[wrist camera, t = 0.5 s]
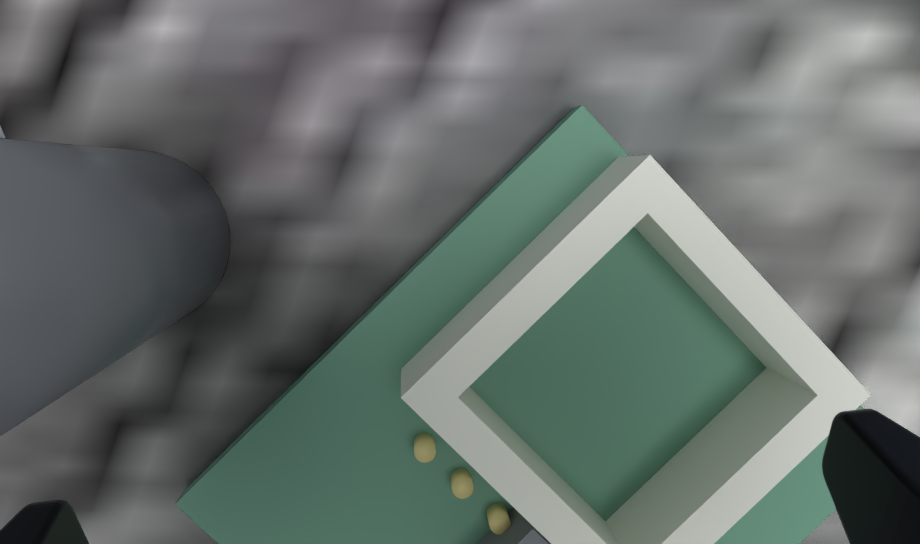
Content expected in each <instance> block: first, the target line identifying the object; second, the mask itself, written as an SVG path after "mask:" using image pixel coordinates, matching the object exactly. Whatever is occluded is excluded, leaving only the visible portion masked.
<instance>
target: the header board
mask: <svg viewBox="0 0 920 544" xmlns="http://www.w3.org/2000/svg"><path fill="white" fill-rule="evenodd" d="M869 396H871V394H870V393H869V392H868V391H867V390H866V389H865V388H864V387H863V386H862V385H861V383H860V382H859V381H858V380H857V379H856V378H855V377H854V376H853V375H852V374H851V373H850V372H849V370H848V369H847V368H846V367H845V366H844V365H843V364H842V363H841V362H840V361H839V360H838V359H837V357H836V356H835V355H834V354H833V353H832V352H831V351H830V350H829V349H828V348H827V347H826V345H825V344H824V343H823V342H822V341H821V340H820V339H819V338H818V337H817V336H816V335H815V334H814V332H813V331H812V330H811V329H810V328H809V327H808V326H807V325H806V324H805V323H804V322H803V320H802V319H801V318H800V317H799V316H798V315H797V314H796V313H795V312H794V311H793V310H792V309H791V307H790V306H789V305H788V304H787V303H786V302H785V301H784V300H783V299H782V298H781V297H780V296H779V294H778V293H777V292H776V291H775V290H774V289H773V288H772V287H771V286H770V285H769V284H768V282H767V281H766V280H765V279H764V278H763V277H762V276H761V275H760V274H759V273H758V272H757V271H756V269H755V268H754V267H753V266H752V265H751V264H750V263H749V262H748V261H747V260H746V259H745V257H744V256H743V255H742V254H741V253H740V252H739V251H738V250H737V249H736V248H735V247H734V246H733V244H732V243H731V242H730V241H729V240H728V239H727V238H726V237H725V236H724V235H723V234H722V232H721V231H720V230H719V229H718V228H717V227H716V226H715V225H714V224H713V223H712V222H711V221H710V219H709V218H708V217H707V216H706V215H705V214H704V213H703V212H702V211H701V210H700V209H699V208H698V206H697V205H696V204H695V203H694V202H693V201H692V200H691V199H690V198H689V197H688V196H687V194H686V193H685V192H684V191H683V190H682V189H681V188H680V187H679V186H678V185H677V184H676V183H675V181H674V180H673V179H672V178H671V177H670V176H669V175H668V174H667V173H666V172H665V171H664V169H663V168H662V167H661V166H660V165H659V164H658V163H657V162H656V161H655V160H654V159H653V158H652V156H651V155H640V156H629V155H628V154H627V153H626V152H625V151H624V149H623V148H622V147H621V146H620V145H619V144H618V143H617V142H616V141H615V140H614V139H613V138H612V137H611V135H610V134H609V133H608V132H607V131H606V130H605V129H604V128H603V127H602V126H601V125H600V124H599V122H598V121H597V120H596V119H595V118H594V117H593V116H592V115H591V114H590V113H589V112H588V111H587V109H586V108H585V107H584V106H583V105H580V106H578V107H575V108H573V109H572V110H571V111H570V112H569V113H568V114H567V115H566V116H565V117H564V118H563V119H562V120H561V121H560V122H559V123H558V124H557V125H556V126H555V127H554V128H553V129H552V130H551V131H550V132H549V133H548V134H547V135H546V136H545V137H543V138H542V139H541V140H540V141H539V142H538V143H537V144H536V145H535V146H534V147H533V148H532V149H531V150H530V151H529V152H528V153H527V154H526V155H525V156H524V157H523V158H522V159H521V160H520V161H519V162H518V163H517V164H516V165H515V166H514V167H513V168H512V169H511V170H510V171H509V172H508V173H507V174H506V175H505V176H504V177H503V178H502V179H501V180H500V181H499V182H498V183H497V184H496V185H495V186H494V187H493V188H492V189H491V190H490V191H488V192H487V193H486V194H485V195H484V196H483V197H482V198H481V199H480V200H479V201H478V202H477V203H476V204H475V205H474V206H473V207H472V208H471V209H470V210H469V211H468V212H467V213H466V214H465V215H464V216H463V217H462V218H461V219H460V220H459V221H458V222H457V223H456V224H455V225H454V226H453V227H452V228H451V229H450V230H449V231H448V232H447V233H446V234H445V235H444V236H443V237H442V238H441V239H440V240H439V241H438V242H437V243H436V244H434V245H433V246H432V247H431V248H430V249H429V250H428V251H427V252H426V253H425V254H424V255H423V256H422V257H421V258H420V259H419V260H418V261H417V262H416V263H415V264H414V265H413V266H412V267H411V268H410V269H409V270H408V271H407V272H406V273H405V274H404V275H403V276H402V277H401V278H400V279H399V280H398V281H397V282H396V283H395V284H394V285H393V286H392V287H391V288H390V289H389V290H388V291H387V292H386V293H385V294H384V295H383V296H382V297H381V298H379V299H378V300H377V301H376V302H375V303H374V304H373V305H372V306H371V307H370V308H369V309H368V310H367V311H366V312H365V313H364V314H363V315H362V316H361V317H360V318H359V319H358V320H357V321H356V322H355V323H354V324H353V325H352V326H351V327H350V328H349V329H348V330H347V331H346V332H345V333H344V334H343V335H342V336H341V337H340V338H339V339H338V340H337V341H336V342H335V343H334V344H333V345H332V346H331V347H330V348H329V349H328V350H327V351H325V352H324V353H323V354H322V355H321V356H320V357H319V358H318V359H317V360H316V361H315V362H314V363H313V364H312V365H311V366H310V367H309V368H308V369H307V370H306V371H305V372H304V373H303V374H302V375H301V376H300V377H299V378H298V379H297V380H296V381H295V382H294V383H293V384H292V385H291V386H290V387H289V388H288V389H287V390H286V391H285V392H284V393H283V394H282V395H281V396H280V397H279V398H278V399H277V400H276V401H275V402H274V403H273V404H272V405H270V406H269V407H268V408H267V409H266V410H265V411H264V412H263V413H262V414H261V415H260V416H259V417H258V418H257V419H256V420H255V421H254V422H253V423H252V424H251V425H250V426H249V427H248V428H247V429H246V430H245V431H244V432H243V433H242V434H241V435H240V436H239V437H238V438H237V439H236V440H235V441H234V442H233V443H232V444H231V445H230V446H229V447H228V448H227V449H226V450H225V451H224V452H223V453H222V454H221V455H220V456H219V457H218V458H216V459H215V460H214V461H213V462H212V463H211V464H210V465H209V466H208V467H207V468H206V469H205V470H204V471H203V472H202V473H201V474H200V475H199V476H198V477H197V478H196V479H195V480H194V481H193V482H192V483H191V484H190V485H189V486H188V487H187V488H186V489H185V491H184V492H183V493H182V495H181V496H180V498H179V499H178V501H177V502H176V504H175V505H176V506H177V507H178V508H179V509H180V510H182V511H183V512H184V513H185V514H186V515H187V516H188V517H189V518H190V519H192V520H193V521H194V522H195V523H196V524H197V525H198V526H199V527H200V528H202V529H203V530H204V531H205V532H206V533H207V534H208V535H209V536H210V537H212V538H213V539H214V540H215V541H216V542H217V543H218V544H800V543H801V542H802V541H803V540H804V539H805V538H806V537H807V536H808V535H809V534H810V533H811V532H812V531H813V530H814V529H815V528H817V527H818V526H819V525H820V524H821V523H822V522H823V521H824V520H825V519H826V518H827V517H828V516H829V515H830V514H831V513H832V512H834V511H835V510H836V507H835V505H834V502H833V500H832V497H831V495H830V492H829V490H828V487H827V485H826V482H825V479H824V476H823V471H822V459H823V454H824V451H825V447H826V443H827V439H828V436H829V432H830V428H831V425H832V421H833V419H834V417H835V416H836V415H837V414H838V413H839V412H842V411H851V410H860V409H863V408H862V407H861V406H860V405H861V404H862V403H863V402H864V401H865V400H866V399H867V398H868V397H869Z"/></svg>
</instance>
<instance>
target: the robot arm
mask: <svg viewBox="0 0 920 544" xmlns="http://www.w3.org/2000/svg"><path fill="white" fill-rule="evenodd" d="M822 471H823V476H824V479H825V482H826V485H827V487H828V490H829V492H830V495H831V497H832V500H833V502H834V505H835V507H836V510H837V512H838V515H839V518H840V520H841V523H842V525H843V528H844V530H845V533H846V535H847V538H848V540H849V543H850V544H920V437H918V436H917V435H915V434H914V433H912V432H910V431H909V430H907V429H905V428H904V427H902V426H900V425H899V424H897V423H896V422H894V421H892V420H891V419H889V418H887V417H886V416H884V415H882V414H881V413H879V412H877V411H875V410H872V409H860V410H851V411H842V412H839V413H838V414H837V415H836V416H835V417H834V419H833V421H832V425H831V428H830V432H829V436H828V439H827V443H826V447H825V451H824V454H823V459H822ZM0 544H89V543H88V540H87V538H86V536H85V534H84V532H83V530H82V528H81V525H80V523H79V521H78V519H77V517H76V515H75V512H74V510H73V508H72V507H71V505H70V504H69V503H68V502H67V501H65V500H54V501H45V502H37V503H32V504H29V505H27V506H26V507H24V508H23V509H22V510H21V511H20V512H19V513H18V514H16V515H15V516H14V517H13V518H12V519H11V520H10V521H9V522H8V523H7V524H6V525H5V526H4V527H3V528H2V529H1V530H0Z"/></svg>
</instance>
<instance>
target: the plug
mask: <svg viewBox="0 0 920 544" xmlns="http://www.w3.org/2000/svg"><path fill="white" fill-rule="evenodd" d="M4 138H5V136H4V134H3V131H2V129H1V127H0V436H1V435H3V434H4V433H6V432H7V431H9V430H11V429H12V428H14V427H15V426H17V425H18V424H20V423H21V422H23V421H24V420H26V419H27V418H29V417H30V416H32V415H34V414H35V413H37V412H38V411H40V410H41V409H43V408H44V407H46V406H47V405H49V404H50V403H52V402H53V401H55V400H57V399H58V398H60V397H61V396H63V395H64V394H66V393H67V392H69V391H70V390H72V389H73V388H75V387H76V386H78V385H80V384H81V383H83V382H84V381H86V380H87V379H89V378H90V377H92V376H93V375H95V374H96V373H98V372H99V371H101V370H103V369H104V368H106V367H107V366H109V365H110V364H112V363H113V362H115V361H116V360H118V359H119V358H121V357H122V356H124V355H126V354H127V353H129V352H130V351H132V350H133V349H135V348H136V347H138V346H139V345H141V344H142V343H144V342H145V341H147V340H149V339H150V338H152V337H153V336H155V335H156V334H158V333H159V332H161V331H162V330H164V329H165V328H167V327H168V326H170V325H172V324H173V323H175V322H176V321H178V320H179V319H181V318H182V317H184V316H185V315H187V314H188V313H190V312H191V311H193V310H195V309H196V308H197V307H198V306H200V305H201V304H202V303H203V302H204V301H205V300H206V299H207V298H208V297H209V296H210V295H211V294H212V292H213V291H214V290H215V288H216V287H217V286H218V284H219V282H220V280H221V278H222V276H223V274H224V271H225V269H226V266H227V262H228V258H229V252H230V230H229V225H228V220H227V216H226V213H225V210H224V208H223V206H222V204H221V201H220V199H219V198H218V196H217V194H216V193H215V191H214V190H213V188H212V187H211V186H210V185H209V184H208V182H207V181H206V180H205V179H204V178H203V177H202V176H201V175H200V174H199V173H198V172H196V171H195V170H194V169H192V168H191V167H189V166H188V165H186V164H185V163H183V162H181V161H179V160H177V159H175V158H172V157H170V156H167V155H164V154H160V153H156V152H150V151H142V150H130V149H118V148H106V147H95V146H83V145H71V144H59V143H48V142H36V141H24V140H12V139H4Z"/></svg>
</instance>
